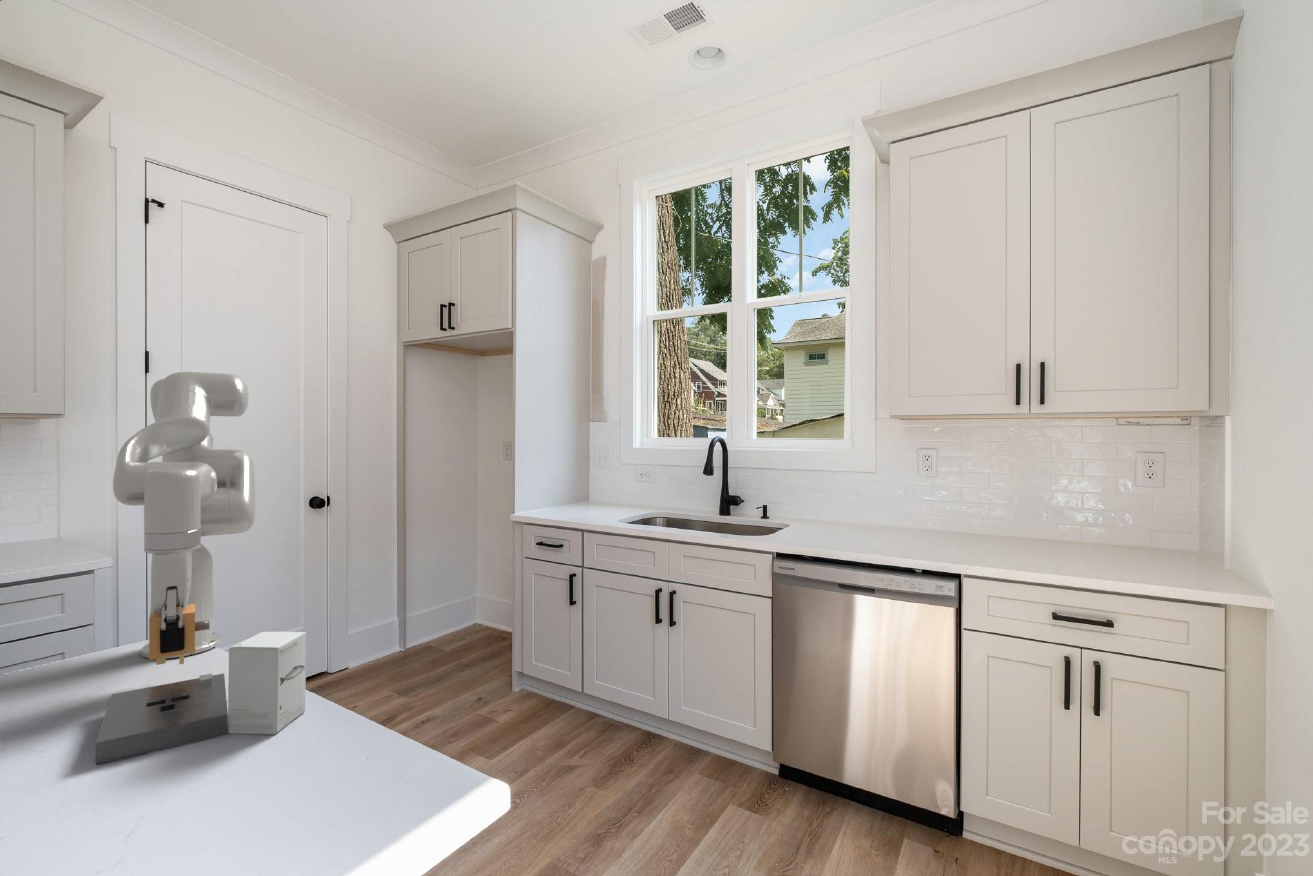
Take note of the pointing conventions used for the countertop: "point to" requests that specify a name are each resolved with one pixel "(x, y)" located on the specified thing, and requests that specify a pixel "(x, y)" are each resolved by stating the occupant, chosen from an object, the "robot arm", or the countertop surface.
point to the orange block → (190, 629)
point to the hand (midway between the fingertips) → (173, 644)
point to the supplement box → (266, 682)
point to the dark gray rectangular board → (162, 718)
